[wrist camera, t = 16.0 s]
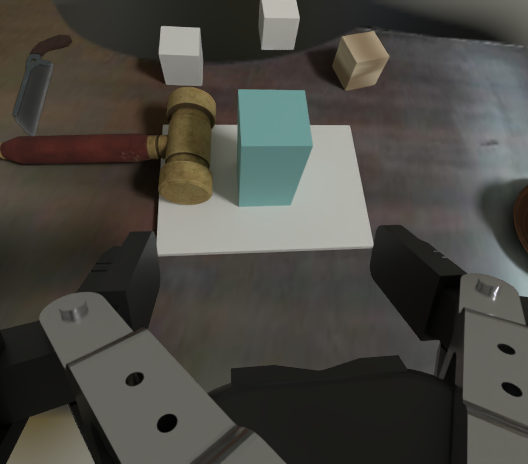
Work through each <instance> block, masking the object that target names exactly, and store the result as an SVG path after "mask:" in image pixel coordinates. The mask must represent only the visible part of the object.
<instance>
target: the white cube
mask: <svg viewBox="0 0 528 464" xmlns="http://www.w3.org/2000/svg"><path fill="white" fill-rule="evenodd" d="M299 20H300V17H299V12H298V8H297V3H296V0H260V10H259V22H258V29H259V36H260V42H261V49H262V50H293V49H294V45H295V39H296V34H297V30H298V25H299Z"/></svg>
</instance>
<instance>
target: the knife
mask: <svg viewBox="0 0 528 464" xmlns="http://www.w3.org/2000/svg"><path fill="white" fill-rule="evenodd" d="M71 42H72V41H71V38H70V37H69V36H68V35H58V36H55V37H52V38H49V39H47V40H44V41H42V42H40V43H38V44H37V45H36V46H35V47H34V48H33V49H32V51H31V53H30V55H29V57H28V59H27V62H26V72H25V75H24V79H23V82H22V85H21V88H20V91H19V95H18V98H17V101H16V104H15V108H14V111H13V115H14V116H15V119H16V121H17V123H18V124H19V125H20V126H21V127H22V128H23V129H24V131H25V132H26V133H28V134H29V135H30V136H35V133H36V130H37V126H38V122H39V119H40V115H41V111H42V107H43V104H44V100H45V96H46V93H47V89H48V85H49V82H50V78H51V74H52V71H53V67H54V65H52V63H51V62H50V61H45V60H41V56H43V55H44V54H45V53H46V52H48V51H50V50H55V49H60V48H64V47H67V46H69V45H70V43H71ZM32 60H36V61H35V62H33V63H31V61H32Z"/></svg>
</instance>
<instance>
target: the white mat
mask: <svg viewBox="0 0 528 464" xmlns="http://www.w3.org/2000/svg"><path fill="white" fill-rule="evenodd" d="M168 129H169V125H163V132H162V135H168ZM310 129H311V136H312V142H313V147H312V150H311V153H310V155H309V158H308V161H307V163H306V166H305V169H304V171H303V174H302V177H301V179H300V182H299V185H298V187H297V190H296V193H295V195H294V198H293V201H292V203H291V205H290V206H252V207H239V198H238V178H237V125H215V126H214V127H213V129H212V134H211V155H210V168H209V170H210V171H211V173H212V175H213V187H212V197H211V198H210V199H209V200H208V201H206V202H204V203H201V204H196V205H183V204H177V203H174V202H171V201H169V200H167V199H165V198H164V197H162V196H161V195H160V194H159V208H158V227H157V252H158V256H181V255H207V254H234V253H260V252H286V251H312V250H338V249H364V248H372V247H373V245H374V244H373V239H372V234H371V229H370V224H369V219H368V214H367V209H366V204H365V199H364V194H363V189H362V184H361V179H360V174H359V169H358V164H357V159H356V154H355V149H354V144H353V139H352V134H351V129H350V126H344V125H310ZM164 165H165V159H162V158H161V168H162V167H163V166H164Z"/></svg>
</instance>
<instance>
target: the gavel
mask: <svg viewBox="0 0 528 464" xmlns="http://www.w3.org/2000/svg"><path fill="white" fill-rule="evenodd" d="M215 119H216V104H215V101H214V100H213V98H212V97H211V96H210V95H209V94H208V93H206V92H204V91H202V90H200V89H197V88H192V87H184V88H179V89H177V90H175V91H173V92H172V93H171V94H170V96H169V98H168V106H167V120H168V122H169V129H168V135H160V136H158V135H153V136H149V135H143V134H99V135H59V136H20V137H16V138H13V139H11V140H8V141H6V142H1V143H0V158H2V159H4V160H11V161H14V162H17V163H20V164H25V165H27V164H68V163H109V162H141V161H146V160H151V159H161V158H162V159H165V165H164V166H163V167H162V168H161V170H160V177H159V186H158V191H159V194H160V195H161V196H162V197H164V198H165V199H167V200H169V201H171V202H174V203H177V204H183V205H196V204H201V203H204V202H206V201H208V200H209V199H210V198H211V197H212V187H213V175H212V173H211V171H210V170H209V168H210V155H211V134H212V129H213V127H214V126H215Z"/></svg>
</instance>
